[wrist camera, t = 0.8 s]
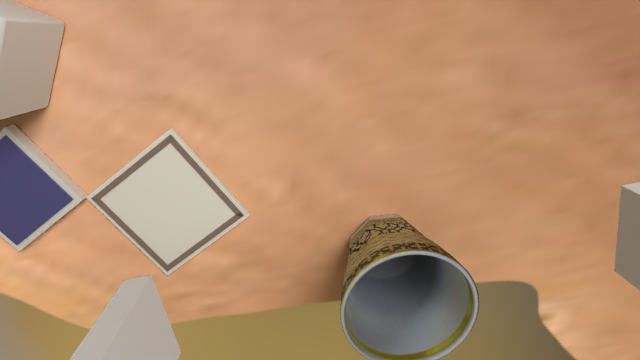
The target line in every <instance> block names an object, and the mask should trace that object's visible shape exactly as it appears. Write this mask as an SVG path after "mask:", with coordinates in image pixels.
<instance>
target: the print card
mask: <svg viewBox="0 0 640 360" xmlns="http://www.w3.org/2000/svg"><path fill="white" fill-rule="evenodd" d="M86 198H87V199H88V200H89V201H90V202H91V203H92V204H93V205H94V206H95V207H96V208H97V209H98V210H99V211H100V212H101V213H102V214H104V215H105V216H106V217H107V218H108V219H109V220H110V221H111V222H112V223H113V224H114V225H115V226H116V227H117V228H118V229H119V230H120V231H121V232H122V233H123V234H124V235H125V236H126V237H127V238H129V239H130V240H131V241H132V242H133V243H134V244H135V245H136V246H137V247H138V248H139V249H140V250H141V251H142V252H143V253H144V254H145V255H146V256H147V257H148V258H149V259H150V260H151V261H152V262H154V263H155V264H156V265H157V266H158V267H159V268H160V269H161V270H162V271H163V272H164V273H165V274H166V275H167V276H168V275H169V274H171V273H172V272H174V271H175V270H176V269H178V268H179V267H180V266H182V265H183V264H184V263H186V262H187V261H189V260H190V259H191V258H193V257H194V256H195V255H197V254H198V253H199V252H201V251H202V250H204V249H205V248H206V247H208V246H209V245H210V244H212V243H213V242H214V241H216V240H217V239H219V238H220V237H221V236H223V235H224V234H225V233H227V232H228V231H230V230H231V229H232V228H234V227H235V226H236V225H238V224H239V223H240V222H242V221H243V220H245V219H246V218H247V217H249V216H250V213H249V212H248V211H247V210H246V209H245V208H244V207H243V206H242V204H241V203H240V202H239V201H238V200H237V199H236V198H235V197H234V195H233V194H232V193H231V192H230V191H229V190H228V189H227V188H226V187H225V185H224V184H223V183H222V182H221V181H220V180H219V179H218V178H217V177H216V175H215V174H214V173H213V172H212V171H211V170H210V169H209V168H208V167H207V165H206V164H205V163H204V162H203V161H202V160H201V159H200V158H199V157H198V155H197V154H196V153H195V152H194V151H193V150H192V149H191V148H190V147H189V145H188V144H187V143H186V142H185V141H184V140H183V139H182V138H181V137H180V135H179V134H178V133H177V132H176V131H175V130H174V129H173V128H171V129H170V130H168V131H167V132H166V133H165V134H163V135H162V136H161V137H160V138H158V139H157V140H156V141H155V142H154V143H152V144H151V145H150V146H149V147H147V148H146V149H145V150H144V151H143V152H141V153H140V154H139V155H138V156H136V157H135V158H134V159H133V160H131V161H130V162H129V163H128V164H127V165H125V166H124V167H123V168H122V169H120V170H119V171H118V172H117V173H115V174H114V175H113V176H112V177H111V178H109V179H108V180H107V181H106V182H104V183H103V184H102V185H101V186H99V187H98V188H97V189H96V190H95V191H93V192H92V193H91V194H90V195H88V196H87V197H86Z"/></svg>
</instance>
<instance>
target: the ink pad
mask: <svg viewBox="0 0 640 360" xmlns="http://www.w3.org/2000/svg"><path fill="white" fill-rule="evenodd" d="M87 196H88V195H87V194H86V193H85V192H84V191H83V190H82V189H81V188H79V187H78V186H77V185H76V184H75V183H74V182H73V181H72V180H71V179H70V178H69V177H68V176H67V175H66V174H65V173H64V172H63V171H62V170H61V169H60V168H59V167H58V166H57V165H56V164H55V163H54V162H53V161H51V160H50V159H49V158H48V157H47V156H46V155H45V154H44V153H43V152H42V151H41V150H40V149H39V148H38V147H37V146H36V145H35V144H34V143H33V142H32V141H31V140H30V139H29V138H28V137H27V136H26V135H24V134H23V133H22V132H21V131H20V130H19V129H18V128H17V127H16V126H15V125H14V124H13V125H9V126H6V127H4V128H3V129H2V130H1V131H0V236H2V237H3V238H4V239H5V240H6V241H7V242H9V243H10V244H11V245H12V246H13V247H14V248H16V249H17V250H18V251H21V250H22V249H23V248H25V247H26V246H27V245H28V244H30V243H31V242H32V241H33V240H35V239H36V238H37V237H38V236H39V235H41V234H42V233H43V232H44V231H46V230H47V229H48V228H49V227H50V226H52V225H53V224H54V223H55V222H57V221H58V220H59V219H60V218H62V217H63V216H64V215H65V214H66V213H68V212H69V211H70V210H71V209H73V208H74V207H75V206H76V205H78V204H79V203H80V202H81V201H82V200H84V199H85V198H86V197H87Z"/></svg>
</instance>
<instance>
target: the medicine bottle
mask: <svg viewBox="0 0 640 360" xmlns="http://www.w3.org/2000/svg"><path fill="white" fill-rule="evenodd" d="M64 27H65V25H64V23H63V22H62V21H61V20H59V19H56V18H54V17H51V16H49V15H46V14H44V13H41V12H39V11H37V10H34V9H32V8H29V7H27V6H24V5H22V4H19V3H17V2H14V1H12V0H0V120H3V119H6V118H10V117H14V116H17V115H21V114H25V113H28V112H32V111H36V110H39V109H43V108H46V107H47V106H48V104H49V99H50V94H51V89H52V85H53V80H54V75H55V70H56V66H57V61H58V56H59V51H60V46H61V42H62V37H63V32H64Z"/></svg>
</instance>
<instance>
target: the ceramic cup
mask: <svg viewBox="0 0 640 360" xmlns="http://www.w3.org/2000/svg"><path fill="white" fill-rule="evenodd" d="M478 310H479V296H478V291H477V287H476V285H475V282H474V280H473V278H472V277H471V275H470V274H469V272H468V271H467V270H466V269H465V268H464V267H463V266H462V265H461V264H460V263H459V262H458V261H457V260H456V259H455V258H453V257H452V256H451V255H450V254H449V253H447V252H446V251H445V250H444V249H442V248H441V247H440V246H438V245H437V244H436V243H434V242H433V241H431V240H429V239H428V238H426V237H424V236H423V235H422V234H421V233H420V232H419V231H418V230H416V229H415V228H414V227H413V226H412V225H410V224H409V223H408V222H407V221H406V220H404V219H403V218H402V217H401V216H399V215H396V214H392V215H380V216H371V217H369V218H368V219H367V220H366V221H365V222H364V224H363V225H362V226H361V227H360V228H359V229H358V230H357V231H356V232H355V233H354V234H353V235H352V236H351V237H350V242H349V252H348V260H347V268H346V271H345V275H344V281H343V288H342V296H341V313H340V314H341V324H342V328H343V331H344V333H345V336H346V338H347V339H348V341H349V342H350V344H351V345H352V346H353V347H354V348H355V349H356V350H357V351H358V352H359V353H360V354H362V355H363V356H365V357H366V358H368V359H370V360H438V359H440V358H442V357H444V356H446V355H447V354H449V353H450V352H452V351H453V350H454V349H456V347H458V346H459V345H460V344H461V343H462V342H463V341H464V340H465V339H466V337H467V336H468V335H469V333H470V332H471V330H472V328H473V326H474V324H475V321H476V319H477V315H478Z"/></svg>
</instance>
